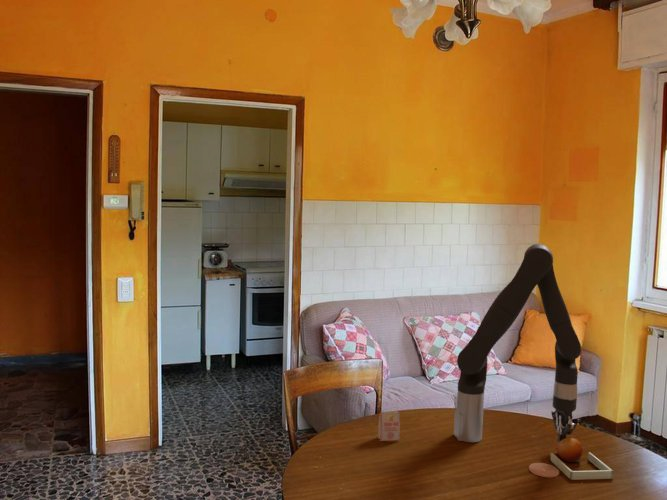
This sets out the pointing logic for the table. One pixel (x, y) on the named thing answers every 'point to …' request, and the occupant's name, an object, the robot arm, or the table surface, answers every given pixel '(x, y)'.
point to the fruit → (569, 449)
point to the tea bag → (389, 426)
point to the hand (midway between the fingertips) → (561, 444)
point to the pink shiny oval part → (544, 470)
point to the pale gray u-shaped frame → (579, 475)
